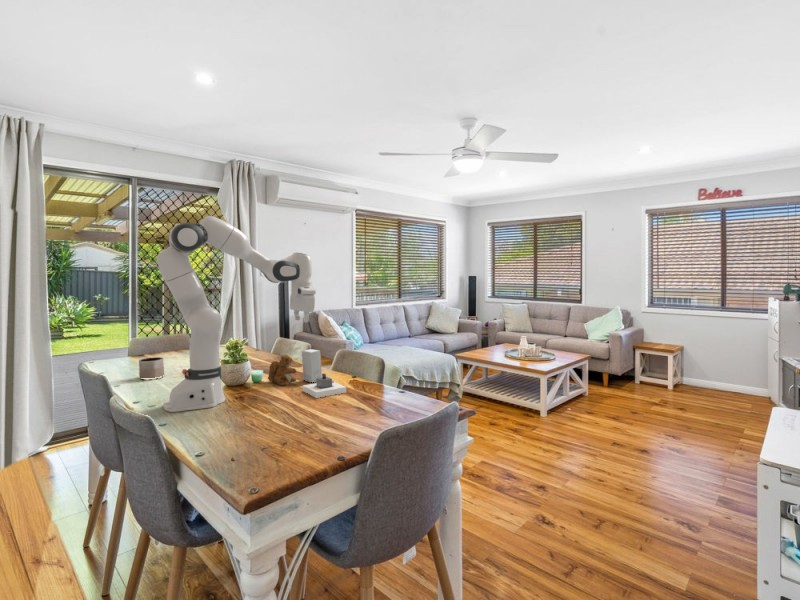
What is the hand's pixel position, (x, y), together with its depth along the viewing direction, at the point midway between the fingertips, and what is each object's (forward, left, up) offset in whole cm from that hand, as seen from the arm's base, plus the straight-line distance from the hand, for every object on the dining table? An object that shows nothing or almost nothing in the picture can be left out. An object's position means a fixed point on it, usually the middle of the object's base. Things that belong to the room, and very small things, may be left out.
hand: (301, 321), depth 197 cm
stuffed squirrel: (-4, +17, -31) cm, 36 cm away
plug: (+5, -11, -31) cm, 33 cm away
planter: (-53, +66, -31) cm, 90 cm away
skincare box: (+9, +11, -31) cm, 34 cm away
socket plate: (+5, -11, -30) cm, 33 cm away
